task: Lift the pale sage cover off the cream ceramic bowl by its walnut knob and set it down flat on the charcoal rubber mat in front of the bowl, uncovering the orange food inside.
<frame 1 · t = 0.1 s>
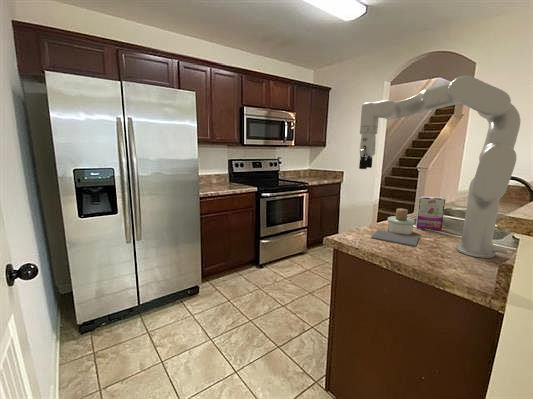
hand: (365, 168, 126), 31 cm above the worktop, fingers open, 9 cm apart
lid: (400, 221, 131), point 5 cm above the worktop, touching bowl
bowl: (399, 231, 132), on the worktop
mat: (395, 238, 122), on the worktop
candy bar box: (427, 228, 137), on the worktop
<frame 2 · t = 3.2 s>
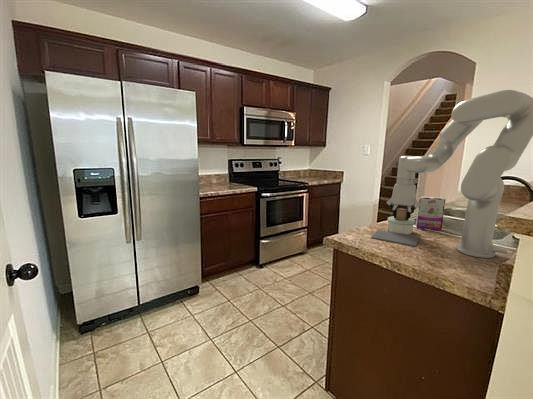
hand: (401, 218, 131), 7 cm above the worktop, fingers closed on lid, 5 cm apart
lid: (400, 221, 131), point 5 cm above the worktop, touching bowl, gripper
everything else where it was.
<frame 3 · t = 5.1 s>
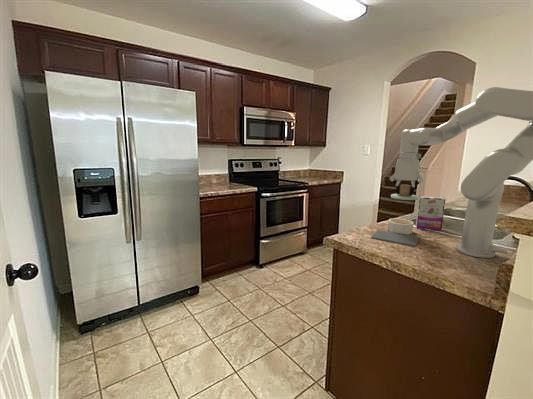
hand: (404, 194, 128), 19 cm above the worktop, fingers closed on lid, 5 cm apart
lid: (404, 197, 128), point 17 cm above the worktop, touching gripper
everything else where it was.
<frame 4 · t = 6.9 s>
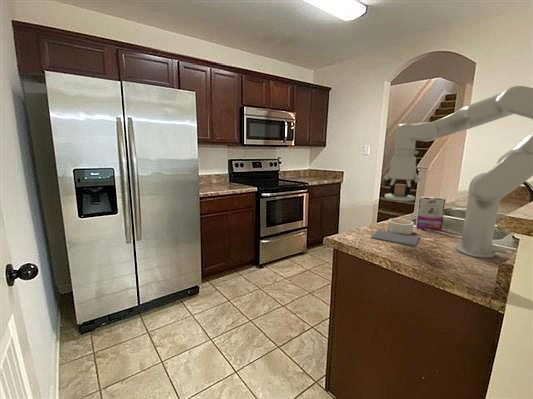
hand: (399, 194, 118), 20 cm above the worktop, fingers closed on lid, 5 cm apart
lid: (399, 198, 118), point 19 cm above the worktop, touching gripper
everything else where it was.
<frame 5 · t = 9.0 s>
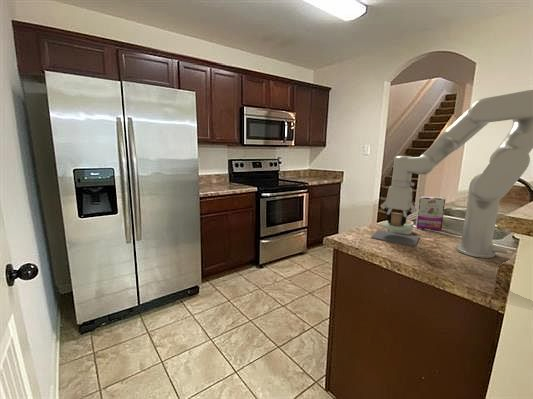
hand: (396, 223, 121), 7 cm above the worktop, fingers closed on lid, 5 cm apart
lid: (395, 226, 121), point 5 cm above the worktop, touching gripper
everything else where it was.
when the fingers open (4 cm above the worktop, at t = 10.6 s): lid drops 2 cm, resting on mat.
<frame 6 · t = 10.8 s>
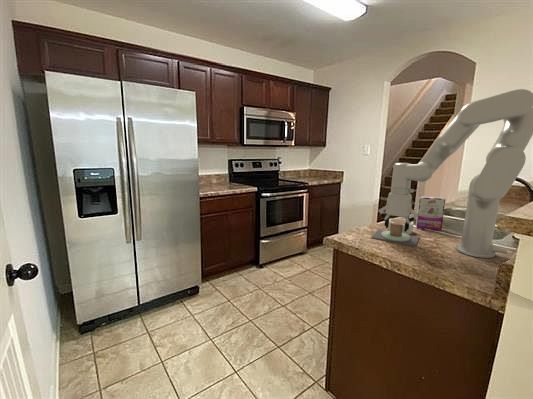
hand: (396, 229, 121), 4 cm above the worktop, fingers open, 7 cm apart
lid: (395, 237, 122), point 1 cm above the worktop, touching mat
everything else where it was.
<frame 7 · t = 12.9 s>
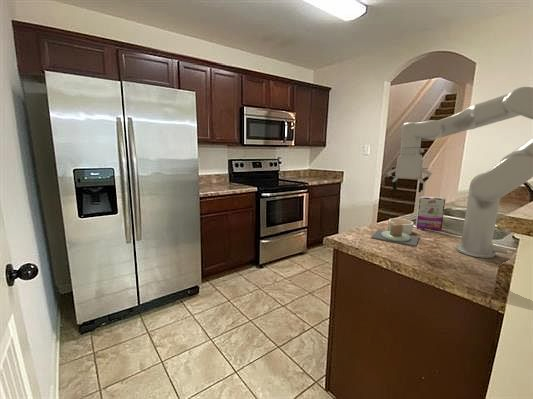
hand: (407, 191, 118), 22 cm above the worktop, fingers open, 9 cm apart
nothing on the worktop moved.
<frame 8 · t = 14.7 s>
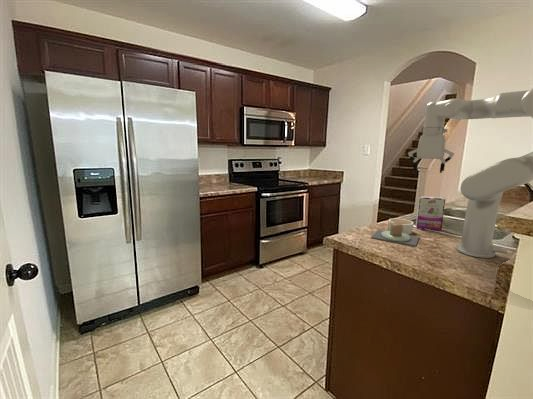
hand: (427, 171, 118), 30 cm above the worktop, fingers open, 9 cm apart
nothing on the worktop moved.
at the end: lid inside the target area on the mat (0.1 cm from its centre), point 0.6 cm above the mat's base; lid tilted 0°; the gripper is holding nothing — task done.
